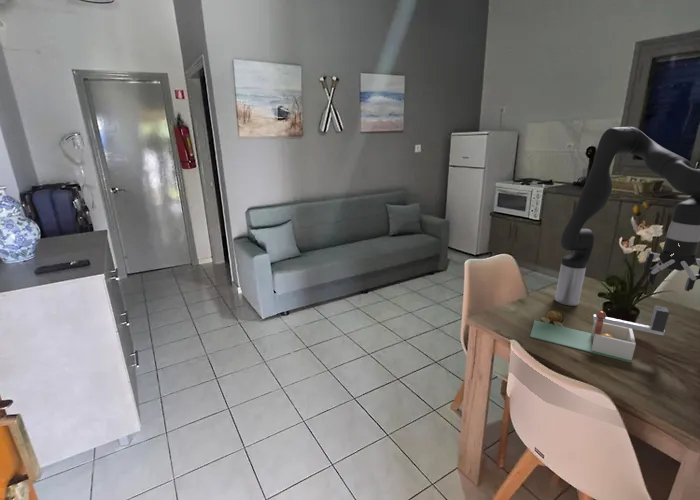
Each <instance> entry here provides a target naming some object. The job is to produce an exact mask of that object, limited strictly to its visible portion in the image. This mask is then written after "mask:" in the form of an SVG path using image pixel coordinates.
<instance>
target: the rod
mask: <svg viewBox="0 0 700 500" xmlns="http://www.w3.org/2000/svg"><path fill="white" fill-rule="evenodd" d="M669 315H670V312H669V309H668V307H666V306H660V305H654V308H653V310H652V315H651V319H650V322H649V325H646V324H643V323H642V324H641V323H637V322H632V321H627V320H624V319H623V320H622V319H619V318H618V319H617V318H614V317H608V316H607V314H606V312H605V311H602V310H599V311H597V312H596V314H593V317H592V321H593V322H594V321H596V325H595V329H594V333H593V338H592V344H593V340H594V336H595V334H599V335H600V334H601V330H602V325H603V323H608V324H612V325H617V326H622V327H626V328H631V329H632V330H636V331H641V332H644V333H648V334H649V333H651V334H655V335H660V336H664V335H665V333H666V332H665V328H666V324H667V320H668V319H669Z"/></svg>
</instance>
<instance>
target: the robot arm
mask: <svg viewBox="0 0 700 500" xmlns="http://www.w3.org/2000/svg"><path fill="white" fill-rule="evenodd" d="M626 154H631V155H634V156H637V157H639V158H640V159H643V162H644V163H645V164H644V165H645V166H646V168H648V169H649V170H650V171H651V172H652V173H654V174H657V176H659V177H661V178H663V179H665V180H666V181H667V183H669V184H670V185H671V187H672V188H673V189H674V190H675V191H678V192H679V193H682V194H684V195H689V196H688V197H689V198H687V199H686V200H684V201H680V202H679V203H677V204H676V206H675V208H674V212H673V215H672V219H671V222H670V224H669V226H668V229H667V233H666V237H665V241H664V243H663V246H662V251H660V253H657V252H653V251H648V253H647V255H646V257H645V260H646V261H644V263H643V266H642V269H643V270H644V272H648V273H649V274H648V277H647V283H648V284H649V285H650V286H654V284H655V281H656V276H657V273H658V272H660V271H663V270H665V269H668V270H676V271H679V272H682V271H684V270H685V272H686V274H687V275H688V277H687V279H686V282H685V286H684V291H686V292H690V290H693V289H694V286H695V283H696V281H697V280H700V258H696V255H697V252H698V249H699V245H700V168H693V167H692V163H691V162H690V160H689V159H686V158H685V157H683V156H682V155H679V154H676V153H675V152H672V151H671V150H669V149H667V148H665V147H663V146H662V145H660V144H658V143H657V142H656V141H654V140H653V139H652V138H650V137H649V136H647V135H646V134H645V133H644V132H643V131H641V130H640V129H639V128H638V127H636V126H635V127H634V126H621V127H618V126H617V127H609V128H607V130H605V131H604V132H603V133H602V135H601V137H600V138H599V142H598V146H597V148H596V152H595V155H594V158H593V163H592V165H591V167H590V170H589V173H588V176H587V179H586V181H585V184H584V186H583V188H582V190H581V192H580V195H579V197H578V200H577V203H576V206H575V208H574V211H573V212H572V215H571V216H570V219H569V221H568V222H567V224H566V226H565V228H564V229H563V231H562V234H561V238H560V245H561V247H562V248H563V249H564V250H565V251H573V252H570V253H569V254H567V255H566V254H565V255H564V256H563V257H562V259H561V261H560V262H561V263H560V269H559V274H558V278H557V279H558V280H557V286H556V289H555V290H556V291H555V296H554V300H555V301H556V302H557V303H559V304H562V305H565V306H569V307H570V306H572V307H573V306H579V304H580V299H581V294H582V290H583V285H584V279H585V275H586V269H587V265H588V263H589V262H590V259H591V255H592V252H593V248H594V245H595V234H594V232H593V230H591V229H590V228H583V227H584V225H585V224H586V223H587V222H588V221H589V220H590V219H592V218H593V217H594V216H595V215H597V214H598V213H600V212H601V211H602V210H603V209H604V208H605V206H606V204H607V203H608V201H609V198H610V196H611V194H612V193H613V183H612V178H611V177H612V176H611V173H610V171H611V165H612V163H613V161H614V158H615V156H616V155H626ZM678 243H679V245H680V247H679V246H678ZM673 253H674V255H673V256H672V257H671V256H670V255H671V254H673ZM658 258H659V260H660V261H659V262H658V263H656V264H655V265H654V266H652V267H651V265H652V262H653V261H655V260H656V259H658ZM696 263H697V266H698V271H697V273H696V274H695V273H694V272H693V270H692V269H691V267H692V265H694V264H696Z"/></svg>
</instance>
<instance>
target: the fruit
mask: <svg viewBox="0 0 700 500" xmlns="http://www.w3.org/2000/svg"><path fill="white" fill-rule="evenodd" d="M540 319H541V322H544V323H549V324H550V322H553V325H557V326H562V327H565V326H564V324H563V323H562V322H563V321H564V315H563V314H562V312H560V311H558V310H550V311H548V312H547V313H546V317H544V316H542V317H541V318H540Z"/></svg>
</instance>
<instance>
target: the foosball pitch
mask: <svg viewBox="0 0 700 500" xmlns="http://www.w3.org/2000/svg"><path fill="white" fill-rule="evenodd" d="M595 325H596V321H594V320H593V325H592V330H591V332H588V331H587V332H586V331H584V330H583V331H582V330H577V329H574V328H570V327H566V326H564V327H562V325H555V324H554V323H553V324H552V323H550V322H549V323H544V322H543V321H539V320H535V319H534V321H533V326H532V328H531V332H530V335H529V337H530V339H531V338H532V339H534V340H535V339H536V340H539V341H544V342H547V343H552V344H556V345H559V346H564V347H566V348H567V347H568V348H571V349H576V350H579V351H582V352H587V353H591V354H594V355H599V356H602V357H606V358H611V359H615V360H618V361H622V362H626V363H630V364H632V363H633V361H632V360H633V356H634V353H635V349H636V345H637V344H636V339H635V335H634V331H633V330H634V329H631V328H626V327H622V326H617V325H612V324H608V323H603V325H602V330H601V334H610V335H611V336H612V337H613V338H612V337H607V336H603V335H601V334H600V335H599V334H595V336H594V340H593V344H592V338H593V333H594V329H595Z"/></svg>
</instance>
